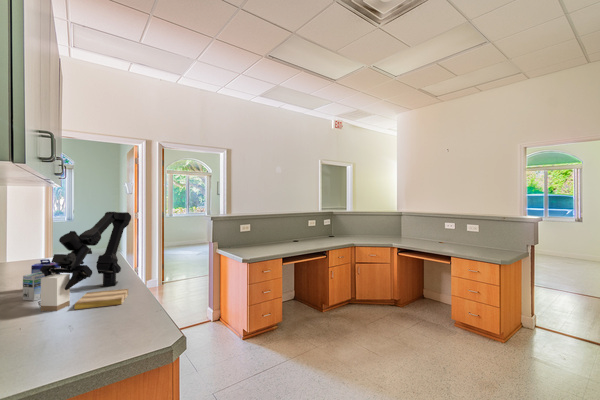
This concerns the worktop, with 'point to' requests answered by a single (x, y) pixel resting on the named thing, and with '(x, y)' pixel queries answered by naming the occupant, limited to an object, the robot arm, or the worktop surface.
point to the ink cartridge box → (37, 267)
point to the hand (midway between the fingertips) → (54, 289)
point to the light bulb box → (32, 286)
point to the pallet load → (54, 292)
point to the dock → (101, 299)
